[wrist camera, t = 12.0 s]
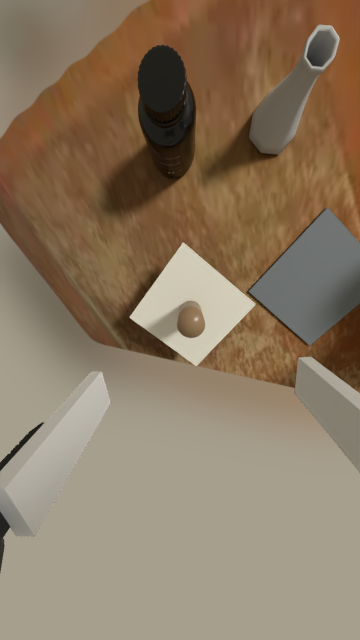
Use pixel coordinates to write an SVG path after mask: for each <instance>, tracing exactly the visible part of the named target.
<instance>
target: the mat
mask: <svg viewBox="0 0 360 640" xmlns="http://www.w3.org/2000/svg"><path fill="white" fill-rule="evenodd" d="M248 292H249V293H250V294H252V295H253V296H254V297H255V298H256V299H257V300H258V301H260V302H261V303H262V304H263V305H264V306H265V307H266V308H267V309H269V310H270V311H271V312H272V313H273V314H274V315H275V316H277V317H278V318H279V319H280V320H281V321H282V322H283V323H284V324H286V325H287V326H288V327H289V328H290V329H291V330H292V331H293V332H295V333H296V334H297V335H298V336H299V337H300V338H301V339H303V340H304V341H305V342H306V343H307V344H308V345H311V344H312V343H313V342H315V341H316V340H317V339H318V338H319V337H320V336H322V335H323V334H324V333H325V332H326V331H328V330H329V329H330V328H331V327H332V326H334V325H335V324H336V323H337V322H338V321H340V320H341V319H342V318H343V317H344V316H346V315H347V314H348V313H349V312H350V311H351V310H353V309H354V308H355V307H356V306H357V305H359V304H360V243H359V241H358V240H357V239H356V238H355V237H354V236H353V235H352V234H351V233H350V232H349V230H348V229H347V228H346V227H345V226H344V225H343V224H342V223H341V222H340V221H339V219H338V218H337V217H336V216H335V215H334V214H333V213H332V212H331V211H330V210H329V208H326V209H325V210H324V211H323V212H322V213H321V214H320V215H319V216H318V217H317V218H316V219H315V220H314V221H313V222H312V224H311V225H310V226H309V227H308V228H307V229H306V230H305V231H304V232H303V233H302V234H301V235H300V236H299V237H298V238H297V239H296V241H295V242H294V243H293V244H292V245H291V246H290V247H289V248H288V249H287V250H286V251H285V252H284V253H283V254H282V255H281V257H280V258H279V259H278V260H277V261H276V262H275V263H274V264H273V265H272V266H271V267H270V268H269V269H268V270H267V271H266V272H265V274H264V275H263V276H262V277H261V278H260V279H259V280H258V281H257V282H256V283H255V284H254V285H253V286H252V287H251V288H250V289H249V291H248Z"/></svg>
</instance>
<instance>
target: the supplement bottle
mask: <svg viewBox="0 0 360 640" xmlns="http://www.w3.org/2000/svg"><path fill="white" fill-rule="evenodd" d="M138 89H139V94H140V97H139V103H138V116H139V122H140V126H141V129H142V132H143V135H144V137H145V140H146V143H147V145H148V148H149V151H150V154H151V156H152V159H153V161H154V164H155V166H156V168H157V169H158V171H159V172H160V173H161V174H163V175H164V176H166V177H169V178H177V177H180V176H182V175H183V174H185V173H186V172H187V171H188V169H189V168H190V166H191V164H192V162H193V158H194V151H195V126H196V104H195V98H194V94H193V91H192V89H191V87H190V85H189V83H188V82H187V77H186V70H185V67H184V63H183V61H182V60H181V57H180V56H179V55H178V53H177V51H174V49H173V48H170V47H169V46H164V45H161V46H160V45H157V46H156V47H153V48H152V49H151V50H149V51H148V53H147V54H145V56H144V58H143V59H142V61H141V64H140V66H139V71H138Z"/></svg>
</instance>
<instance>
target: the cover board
mask: <svg viewBox="0 0 360 640" xmlns="http://www.w3.org/2000/svg"><path fill="white" fill-rule="evenodd" d="M255 305H256V304H255V303H254V302H253V301H251V300H250V299H249V298H248V297H247V296H246V295H244V294H243V293H242V292H241V291H240V290H239V289H237V288H236V287H235V286H234V285H233V284H231V283H230V282H229V281H228V280H227V279H226V278H224V277H223V276H222V275H221V274H220V273H219V272H217V271H216V270H215V269H214V268H213V267H212V266H210V265H209V264H208V263H207V262H206V261H205V260H203V259H202V258H201V257H200V256H199V255H197V254H196V253H195V252H194V251H193V250H192V249H190V248H189V247H188V246H187V245H186V244H185V243H182V245H181V246H180V248H179V249H178V250H177V252H176V253H175V255H174V256H173V257H172V259H171V260H170V262H169V263H168V264H167V266H166V267H165V268H164V270H163V271H162V273H161V274H160V275H159V277H158V278H157V280H156V281H155V282H154V284H153V285H152V287H151V288H150V289H149V291H148V292H147V293H146V295H145V296H144V298H143V299H142V300H141V302H140V303H139V305H138V306H137V307H136V309H135V310H134V312H133V313H132V314H131V316H130V317H129V318H130V319H132V320H133V321H135V322H136V323H137V324H139V325H140V326H142V327H143V328H144V329H146V330H147V331H148V332H150V333H151V334H153V335H154V336H155V337H157V338H158V339H160V340H161V341H162V342H164V343H165V344H166V345H168V346H169V347H171V348H172V349H173V350H175V351H176V352H178V353H179V354H180V355H182V356H183V357H184V358H186V359H187V360H189V361H190V362H191V363H193V364H194V365H196V366H197V365H198V364H199V363H200V362H201V361H202V360H203V359H204V358H205V357H206V356H207V355H208V354H209V353H210V351H211V350H212V349H213V348H214V347H215V346H216V345H217V344H218V343H219V342H220V341H221V340H222V339H223V338H224V337H225V336H226V335H227V334H228V333H229V332H230V331H231V330H232V329H233V328H234V327H235V325H236V324H237V323H238V322H239V321H240V320H241V319H242V318H243V317H244V316H245V315H246V314H247V313H248V312H249V311H250V310H251V309H252V308H253V307H254V306H255Z"/></svg>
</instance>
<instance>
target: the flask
mask: <svg viewBox="0 0 360 640" xmlns="http://www.w3.org/2000/svg"><path fill="white" fill-rule="evenodd" d="M339 39H340V38H339V36H338V35H337V33H336V31H335V30H334V28H333V27H332V26H328V25H318V26H317V27H316V29H315V30H314V31H313V33H312V34H311V35H310V36H309V38H308V39H307V41H306V42H305V45H304V50H303V54H302V56H301V58H300V60H299V61H298V63H297V65H296V66H295V68H294V69H293V70H292V72H291V73H290V74H289V75H288V76H287V77H286V78H285V79H284V80H283V81H282V82H280V83H279V84H278V85H277V86H276V87H275V88H274V89H273V90H271V91H270V92H269V93H268V95H267V96H266V97H265V99H264V100H263V101H262V102H261V104H260V105H259V106H258V107H257V109H256V110H255V111H254V113H253V116H252V121H251V127H250V133H249V139H250V140H251V141H252V143H253V144H254V145H255V146H256V148H257V149H258V150H259V151H260V153H266V154H277V155H279V154H280V153H281V152H282V151H283V150H284V148H285V147H286V146H287V145H288V144H289V143H290V142H291V140H292V139H293V138H294V137H295V134H296V131H297V128H298V125H299V122H300V119H301V115H302V113H303V110H304V107H305V104H306V101H307V98H308V96H309V93H310V91H311V89H312V87H313V85H314V83H315V81H316V79H317V77H318V76H319V75H320V74H322V72H323V71H324V70H325V69H326V68H327V66H328V65H329V64H330V63H331V62H332V60H333V59H334V58H335V54H336V51H337V47H338V43H339Z"/></svg>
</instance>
